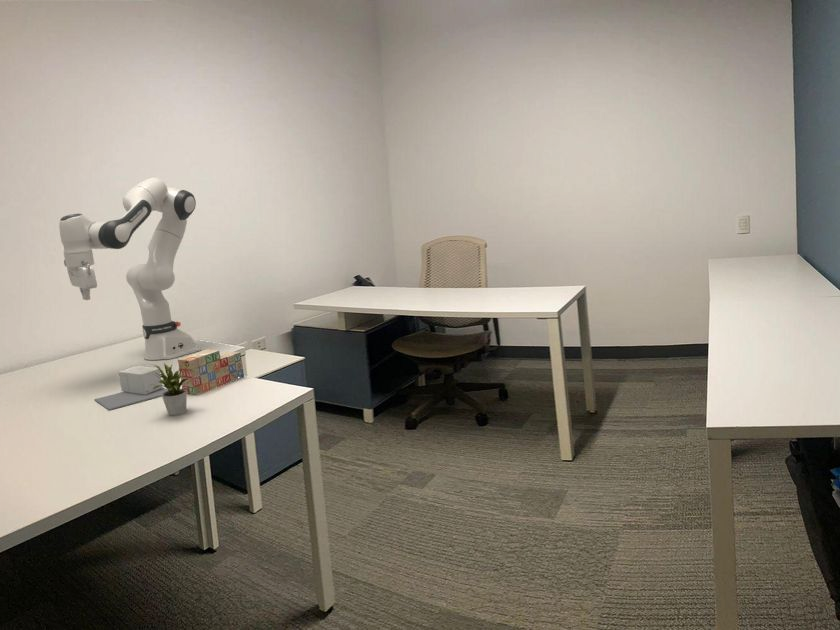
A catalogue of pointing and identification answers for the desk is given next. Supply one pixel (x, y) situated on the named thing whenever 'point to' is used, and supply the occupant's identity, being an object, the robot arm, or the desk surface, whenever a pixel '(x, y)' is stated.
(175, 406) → the house plant
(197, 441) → the desk surface
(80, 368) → the desk surface
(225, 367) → the stack of blocks
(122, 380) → the supplement box
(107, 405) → the mat
